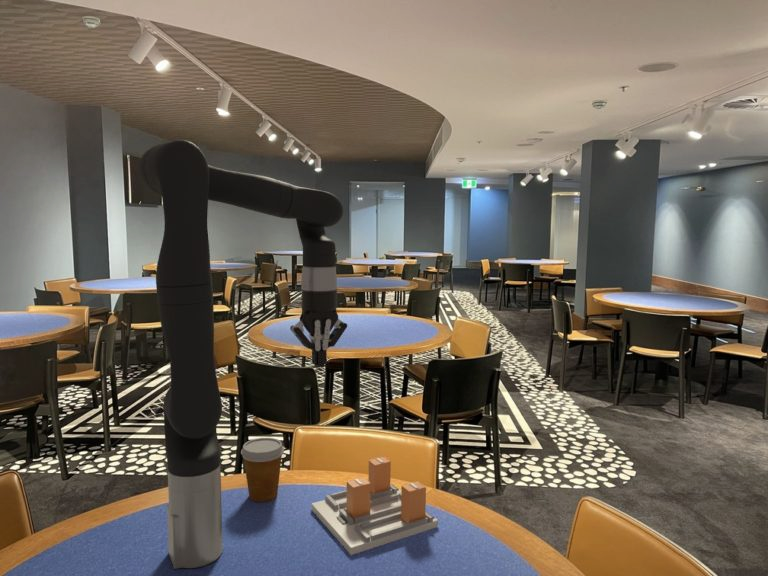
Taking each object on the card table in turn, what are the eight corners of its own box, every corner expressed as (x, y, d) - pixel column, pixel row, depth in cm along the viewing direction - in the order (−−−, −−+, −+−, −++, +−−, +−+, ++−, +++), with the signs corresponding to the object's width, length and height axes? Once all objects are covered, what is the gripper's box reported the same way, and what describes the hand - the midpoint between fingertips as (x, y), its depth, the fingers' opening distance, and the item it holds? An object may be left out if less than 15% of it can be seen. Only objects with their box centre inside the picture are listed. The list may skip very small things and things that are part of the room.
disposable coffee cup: (289, 486, 131) (288, 437, 129) (277, 507, 121) (276, 454, 120) (250, 484, 132) (249, 435, 130) (235, 504, 122) (234, 452, 121)
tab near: (408, 524, 111) (409, 490, 111) (401, 517, 114) (401, 484, 113) (425, 519, 113) (426, 486, 113) (417, 512, 116) (417, 480, 115)
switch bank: (351, 555, 104) (351, 542, 104) (311, 510, 120) (311, 499, 120) (437, 526, 114) (438, 515, 114) (390, 488, 130) (390, 478, 130)
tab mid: (353, 520, 113) (353, 486, 112) (346, 513, 115) (346, 480, 115) (370, 515, 115) (370, 482, 114) (363, 508, 117) (363, 476, 117)
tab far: (374, 495, 123) (375, 464, 123) (368, 489, 126) (368, 459, 125) (390, 491, 125) (390, 460, 125) (383, 485, 128) (383, 455, 127)
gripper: (296, 291, 112) (296, 374, 114) (354, 287, 118) (354, 367, 120) (283, 287, 118) (284, 366, 120) (339, 284, 125) (339, 359, 127)
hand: (319, 366), depth 120 cm, fingers closed
